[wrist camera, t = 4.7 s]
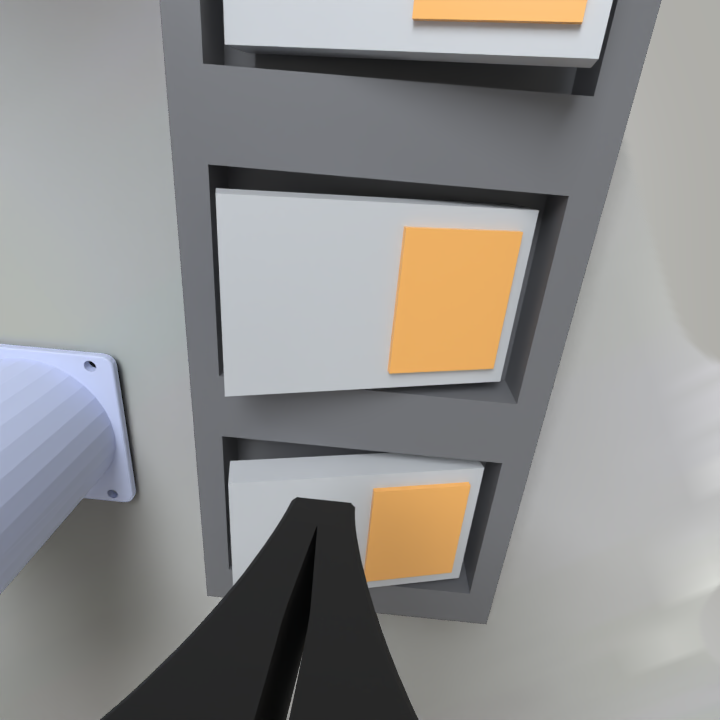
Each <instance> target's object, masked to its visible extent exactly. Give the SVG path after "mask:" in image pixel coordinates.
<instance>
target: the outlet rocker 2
mask: <svg viewBox="0 0 720 720" xmlns="http://www.w3.org/2000/svg"><path fill="white" fill-rule="evenodd" d="M483 471H484V467H483V465H482V464H481V462H480V461H474V460H464V459H453V458H443V457H433V456H422V455H412V454H402V453H375V454H356V455H336V456H317V457H298V458H278V459H259V460H239V461H230V469H229V480H228V489H229V511H230V532H231V553H232V574H233V585H234V584H235V583H236V582H237V580H238V579H239V578H240V577H241V576H242V574H243V573H244V572H245V570H246V569H247V568H248V566H249V565H250V564H251V562H252V561H253V560H254V558H255V557H256V555H257V554H258V553H259V551H260V550H261V549H262V547H263V546H264V545H265V543H266V542H267V540H268V539H269V537H270V536H271V534H272V533H273V531H274V530H275V528H276V527H277V525H278V524H279V522H280V520H281V519H282V517H283V515H284V514H285V512H286V510H287V508H288V507H289V505H290V503H291V501H292V500H293V499H295V498H296V497H301V498H311V499H320V500H330V501H339V502H348V503H352V505H353V506H354V507H355V525H356V533H357V540H358V546H359V551H360V556H361V561H362V565H363V569H364V573H365V577H366V581H367V585H368V588H372V587H381V586H390V585H399V584H408V583H417V582H426V581H435V580H444V579H453V578H459V575H460V571H461V566H462V562H463V558H464V554H465V549H466V545H467V541H468V536H469V532H470V528H471V523H472V519H473V515H474V510H475V506H476V502H477V497H478V493H479V489H480V484H481V480H482V476H483Z"/></svg>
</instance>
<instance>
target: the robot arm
mask: <svg viewBox="0 0 720 720" xmlns="http://www.w3.org/2000/svg"><path fill="white" fill-rule="evenodd" d="M89 361H92V362H93V363H94V364H95V365H96V368H95V367H92V366H91V365H90V363H89ZM113 490H115V491H116V492H117V493H116V492H114V491H113ZM135 494H136V488H135V481H134V475H133V468H132V461H131V455H130V448H129V441H128V435H127V428H126V421H125V415H124V408H123V401H122V395H121V388H120V381H119V375H118V368H117V364H116V361H115V360H114V358H113V357H111V356H110V355H107V354H103V353H92V352H82V351H71V350H61V349H50V348H39V347H29V346H18V345H7V344H0V594H1V593H2V592H3V591H4V590H5V589H6V587H7V586H8V585H9V584H10V583H11V582H12V580H13V579H14V578H15V577H16V576H17V575H18V573H19V572H20V571H21V570H22V569H23V568H24V566H25V565H26V564H27V563H28V562H29V561H30V559H31V558H32V557H33V556H34V555H35V554H36V552H37V551H38V550H39V549H40V548H41V547H42V545H43V544H44V543H45V542H46V541H47V540H48V539H49V537H50V536H51V535H52V534H53V533H54V532H55V530H56V529H57V528H58V527H59V526H60V525H61V523H62V522H63V521H64V520H65V519H66V518H67V516H68V515H69V514H70V513H71V512H72V511H73V509H74V508H75V507H76V506H77V505H78V504H79V502H80V501H81V500H82V499H83V498H88V499H98V500H108V501H118V502H129V501H131V500H132V499H133V497H134V496H135ZM302 654H303V655H302ZM301 658H302V660H301ZM300 662H301V665H300ZM299 666H300V670H299ZM298 670H299V675H298V680H297V684H296V689H295V694H294V699H293V704H292V708H291V713H290V718H289V720H418V718H417V716H416V714H415V711H414V709H413V707H412V705H411V703H410V700H409V698H408V696H407V693H406V691H405V689H404V686H403V684H402V682H401V679H400V677H399V675H398V672H397V670H396V667H395V665H394V662H393V660H392V657H391V655H390V652H389V649H388V647H387V644H386V641H385V638H384V636H383V633H382V630H381V627H380V624H379V621H378V618H377V615H376V612H375V609H374V606H373V602H372V599H371V595H370V592H369V588H368V585H367V581H366V577H365V573H364V569H363V565H362V561H361V556H360V551H359V546H358V540H357V533H356V525H355V507H354V506H353V505H352V503H348V502H339V501H330V500H320V499H311V498H301V497H296V498H295V499H293V500H292V501H291V503H290V505H289V507H288V508H287V510H286V512H285V514H284V515H283V517H282V519H281V520H280V522H279V524H278V525H277V527H276V528H275V530H274V531H273V533H272V534H271V536H270V537H269V539H268V540H267V542H266V543H265V545H264V546H263V547H262V549H261V550H260V551H259V553H258V554H257V555H256V557H255V558H254V560H253V561H252V562H251V564H250V565H249V566H248V568H247V569H246V570H245V572H244V573H243V574H242V576H241V577H240V578H239V579H238V580H237V582H236V583H235V584H234V585H233V587H232V588H231V589H230V590H229V591H228V593H227V594H226V595H225V596H224V597H223V599H222V600H221V601H220V602H219V604H218V605H217V606H216V607H215V608H214V609H213V610H212V612H211V613H210V614H209V615H208V616H207V617H206V618H205V619H204V621H203V622H202V623H201V624H200V625H199V626H198V627H197V628H196V629H195V630H194V631H193V632H192V634H191V635H190V636H189V637H188V638H187V639H186V640H185V641H184V642H183V643H182V644H181V645H180V646H179V647H178V648H177V649H176V650H175V651H174V652H173V653H172V654H171V655H170V656H169V657H168V658H167V659H166V660H165V661H164V662H163V663H162V664H161V665H160V666H159V667H158V668H157V669H156V670H155V671H154V672H153V673H152V674H151V675H150V676H148V677H147V678H146V679H145V680H144V681H143V682H142V683H141V684H140V685H139V686H138V687H137V688H136V689H135V690H134V691H132V692H131V693H130V694H129V695H128V696H127V697H126V698H125V699H124V700H122V701H121V702H120V703H119V704H118V705H117V706H116V707H114V708H113V709H112V710H111V711H110V712H108V713H107V714H106V715H105V716H104V717H103V718H101V719H100V720H286V718H287V714H288V710H289V706H290V702H291V698H292V694H293V690H294V686H295V682H296V678H297V674H298Z"/></svg>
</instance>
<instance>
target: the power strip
mask: <svg viewBox="0 0 720 720" xmlns="http://www.w3.org/2000/svg"><path fill="white" fill-rule="evenodd" d="M660 4H661V0H613V2H612V6H611V10H610V14H609V18H608V22H607V27H606V31H605V35H604V39H603V43H602V47H601V51H600V55H599V59H598V60H597V61H596V62H595V64H594V65H593V66H592V67H591V68H581V67H557V66H534V65H511V64H487V63H464V62H440V61H417V60H394V59H370V58H347V57H324V56H300V55H277V54H253V53H246V52H243V51H241V50H238V49H235V48H233V47H230V46H228V45H225V37H224V8H223V0H160V12H161V24H162V37H163V49H164V61H165V74H166V86H167V99H168V111H169V124H170V136H171V149H172V161H173V174H174V186H175V199H176V211H177V224H178V236H179V249H180V261H181V274H182V286H183V298H184V311H185V323H186V336H187V348H188V361H189V373H190V386H191V398H192V411H193V423H194V436H195V448H196V461H197V473H198V486H199V498H200V510H201V523H202V535H203V548H204V560H205V573H206V585H207V596H214V597H224V596H225V595H226V594H227V593H228V591H229V590H230V589H231V588H232V587H233V574H232V553H231V532H230V511H229V489H228V480H229V469H230V461H239V460H259V459H278V458H298V457H317V456H336V455H356V454H375V453H402V454H412V455H422V456H433V457H443V458H453V459H464V460H474V461H480V462H481V464H482V465H483V467H484V471H483V476H482V480H481V484H480V489H479V493H478V497H477V502H476V506H475V510H474V515H473V519H472V523H471V528H470V532H469V536H468V541H467V545H466V549H465V554H464V558H463V562H462V566H461V571H460V575H459V578H453V579H444V580H435V581H426V582H417V583H408V584H399V585H390V586H381V587H372V588H369V592H370V595H371V599H372V602H373V606H374V609H375V612H376V613H381V614H391V615H401V616H411V617H421V618H430V619H440V620H450V621H460V622H470V623H480V624H486V623H487V620H488V616H489V612H490V609H491V605H492V602H493V598H494V595H495V591H496V588H497V584H498V580H499V577H500V573H501V570H502V566H503V563H504V559H505V556H506V552H507V548H508V545H509V541H510V538H511V534H512V531H513V527H514V523H515V520H516V516H517V513H518V509H519V506H520V502H521V499H522V495H523V491H524V488H525V484H526V481H527V477H528V474H529V470H530V467H531V463H532V459H533V456H534V452H535V449H536V445H537V442H538V438H539V434H540V431H541V427H542V424H543V420H544V417H545V413H546V410H547V406H548V402H549V399H550V395H551V392H552V388H553V385H554V381H555V378H556V374H557V370H558V367H559V363H560V360H561V356H562V353H563V349H564V345H565V342H566V338H567V335H568V331H569V328H570V324H571V321H572V317H573V313H574V310H575V306H576V303H577V299H578V296H579V292H580V289H581V285H582V281H583V278H584V274H585V271H586V267H587V264H588V260H589V256H590V253H591V249H592V246H593V242H594V239H595V235H596V232H597V228H598V224H599V221H600V217H601V214H602V210H603V207H604V203H605V200H606V196H607V192H608V189H609V185H610V182H611V178H612V175H613V171H614V167H615V164H616V160H617V157H618V153H619V150H620V146H621V143H622V139H623V135H624V132H625V128H626V125H627V121H628V118H629V114H630V111H631V107H632V103H633V100H634V96H635V92H636V89H637V85H638V82H639V78H640V75H641V71H642V68H643V64H644V60H645V57H646V54H647V50H648V46H649V43H650V39H651V36H652V32H653V29H654V25H655V21H656V18H657V14H658V11H659V7H660ZM216 188H223V189H241V190H259V191H277V192H295V193H313V194H331V195H349V196H367V197H385V198H404V199H422V200H440V201H458V202H476V203H494V204H512V205H520V206H524V207H528V208H531V209H535V210H539V213H538V217H537V222H536V226H535V231H534V235H533V239H532V244H531V248H530V253H529V257H528V261H527V266H526V270H525V275H524V279H523V283H522V288H521V292H520V297H519V301H518V305H517V310H516V314H515V319H514V323H513V327H512V332H511V336H510V341H509V345H508V349H507V354H506V358H505V363H504V367H503V371H502V376H501V380H500V381H499V382H480V383H462V384H444V385H426V386H408V387H390V388H372V389H353V390H335V391H317V392H299V393H281V394H263V395H244V396H226V397H225V387H224V365H223V344H222V322H221V300H220V279H219V257H218V236H217V214H216Z"/></svg>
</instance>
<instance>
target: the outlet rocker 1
mask: <svg viewBox="0 0 720 720" xmlns="http://www.w3.org/2000/svg"><path fill="white" fill-rule="evenodd" d="M538 213H539V210H535V209H531V208H528V207H524V206H520V205H512V204H494V203H476V202H458V201H440V200H422V199H404V198H385V197H367V196H349V195H331V194H313V193H295V192H277V191H259V190H241V189H223V188H216V214H217V236H218V257H219V279H220V300H221V322H222V344H223V365H224V387H225V397H226V396H244V395H263V394H281V393H299V392H317V391H335V390H353V389H372V388H390V387H408V386H426V385H444V384H462V383H480V382H499V381H500V380H501V376H502V371H503V367H504V363H505V358H506V354H507V349H508V345H509V341H510V336H511V332H512V327H513V323H514V319H515V314H516V310H517V305H518V301H519V297H520V292H521V288H522V283H523V279H524V275H525V270H526V266H527V261H528V257H529V253H530V248H531V244H532V239H533V235H534V231H535V226H536V222H537V217H538Z"/></svg>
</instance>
